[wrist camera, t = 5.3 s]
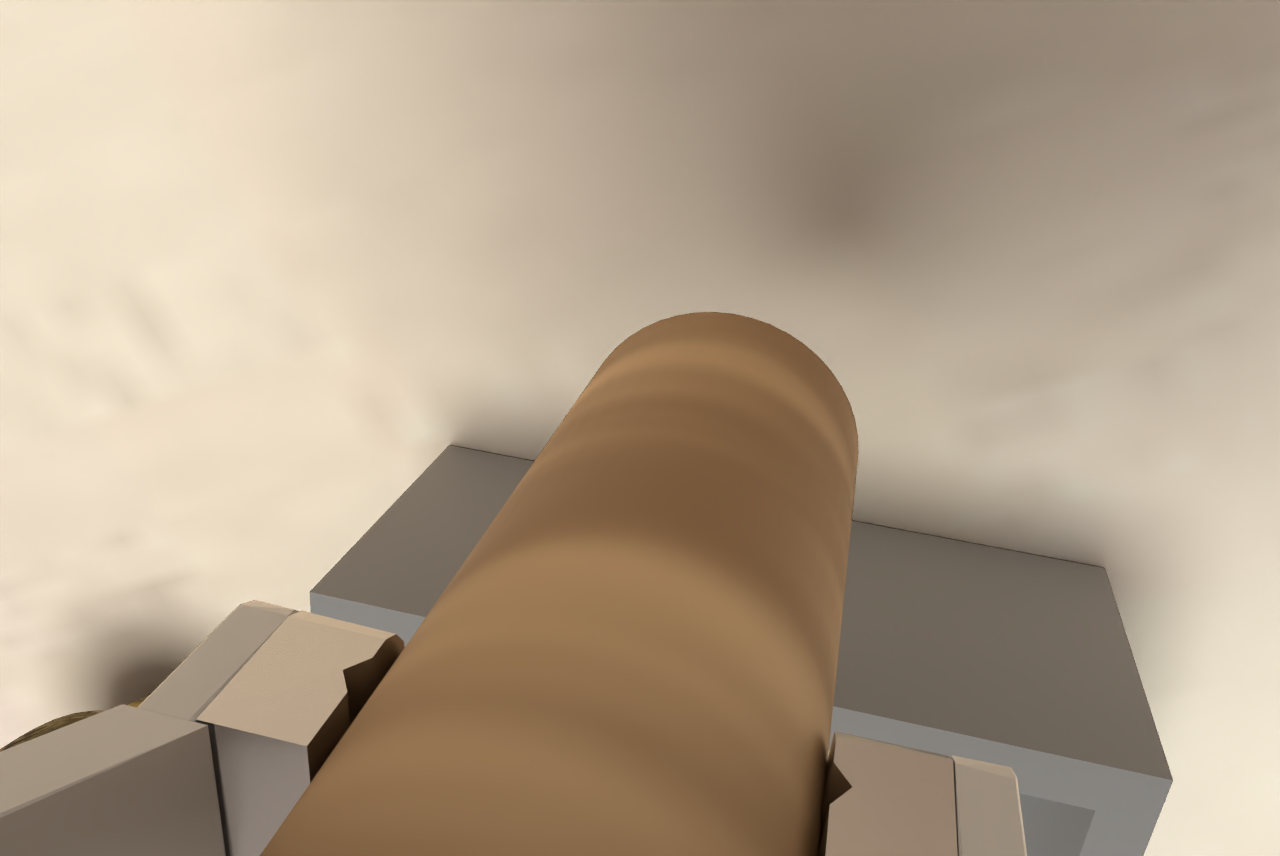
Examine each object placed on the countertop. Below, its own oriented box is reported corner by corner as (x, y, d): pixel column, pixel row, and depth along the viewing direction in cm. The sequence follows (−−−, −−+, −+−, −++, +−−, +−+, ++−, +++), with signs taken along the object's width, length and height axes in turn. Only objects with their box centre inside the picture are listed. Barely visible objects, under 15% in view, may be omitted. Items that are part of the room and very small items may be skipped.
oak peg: (590, 291, 14) (-263, 1277, 4) (882, 337, 14) (789, 1674, 3) (574, 535, 16) (-41, 1658, 6) (832, 586, 16) (668, 1961, 5)
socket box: (449, 445, 27) (309, 591, 21) (1105, 567, 24) (1172, 780, 18) (445, 846, 33) (336, 1054, 26) (970, 982, 30) (986, 1250, 24)
